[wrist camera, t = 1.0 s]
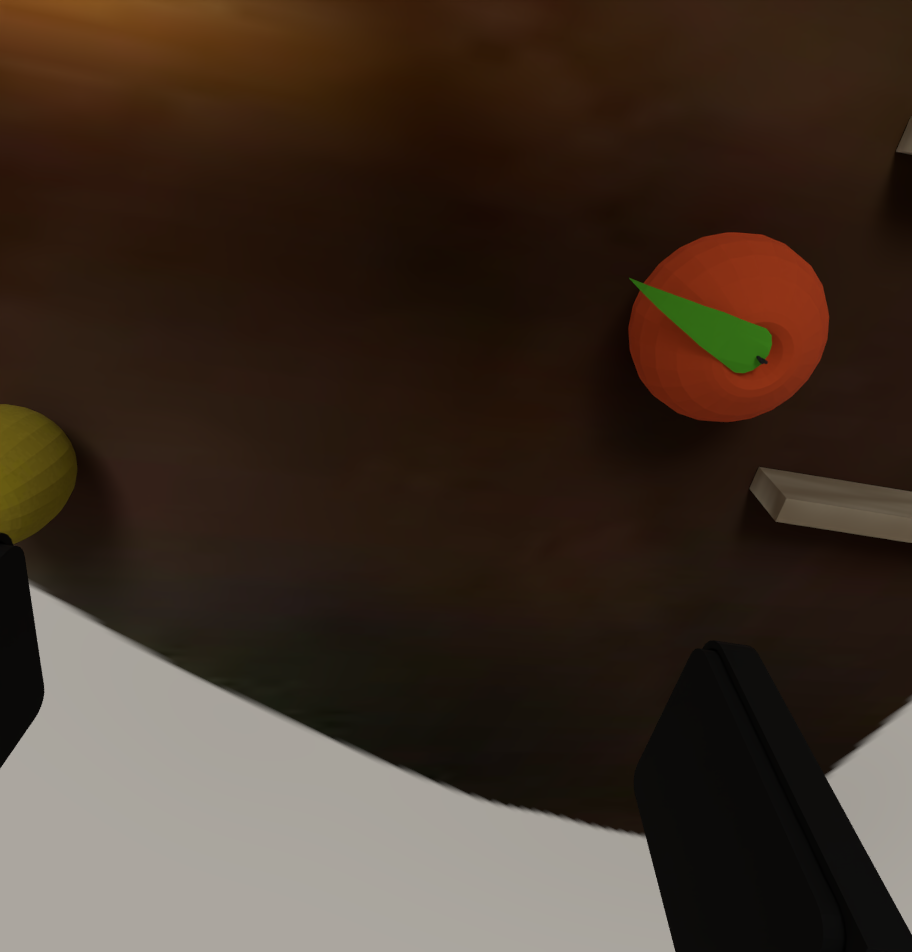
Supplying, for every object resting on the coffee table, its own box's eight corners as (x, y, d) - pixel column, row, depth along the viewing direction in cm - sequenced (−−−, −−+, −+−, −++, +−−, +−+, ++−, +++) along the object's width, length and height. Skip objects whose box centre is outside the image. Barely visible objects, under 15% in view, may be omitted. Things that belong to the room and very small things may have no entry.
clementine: (559, 331, 29) (588, 390, 22) (652, 173, 26) (715, 189, 19) (711, 410, 30) (777, 486, 24) (814, 270, 27) (920, 314, 21)
